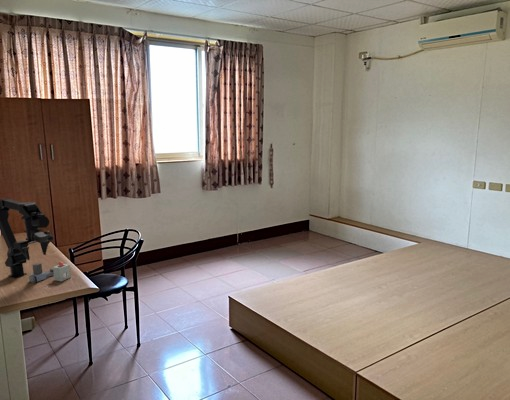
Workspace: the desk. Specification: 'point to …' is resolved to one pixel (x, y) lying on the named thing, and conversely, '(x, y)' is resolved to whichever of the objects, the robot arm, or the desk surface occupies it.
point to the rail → (48, 274)
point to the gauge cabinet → (61, 272)
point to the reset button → (60, 264)
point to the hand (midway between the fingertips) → (36, 257)
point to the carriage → (38, 272)
